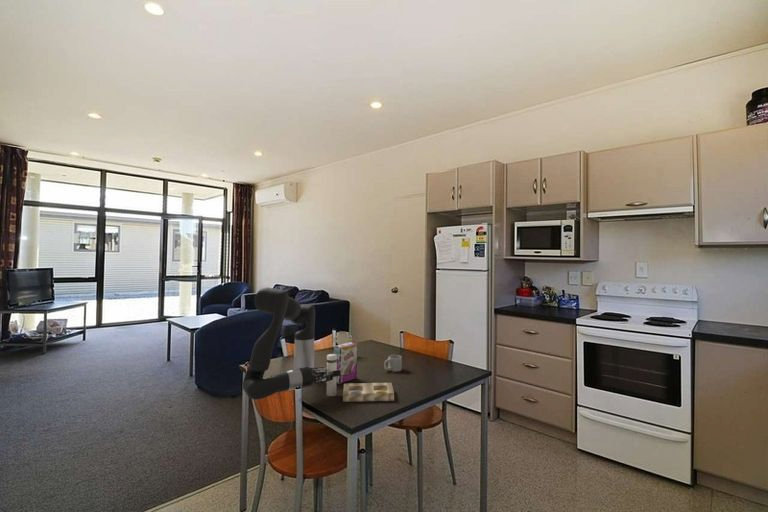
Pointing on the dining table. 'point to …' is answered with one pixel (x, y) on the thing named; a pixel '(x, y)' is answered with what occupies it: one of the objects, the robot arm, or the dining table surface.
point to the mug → (394, 363)
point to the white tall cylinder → (332, 383)
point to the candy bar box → (346, 361)
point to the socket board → (368, 392)
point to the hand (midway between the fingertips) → (337, 371)
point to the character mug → (342, 338)
